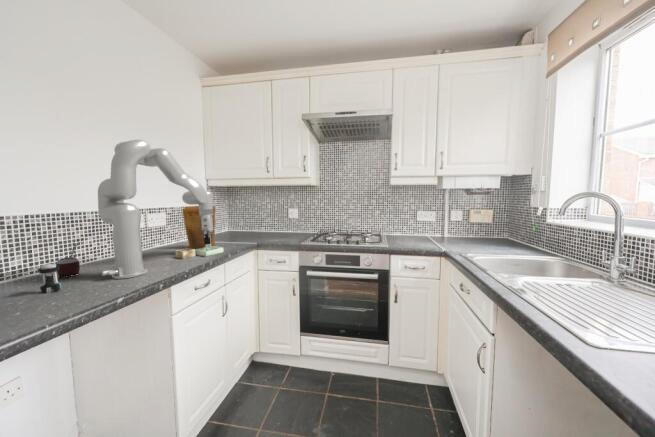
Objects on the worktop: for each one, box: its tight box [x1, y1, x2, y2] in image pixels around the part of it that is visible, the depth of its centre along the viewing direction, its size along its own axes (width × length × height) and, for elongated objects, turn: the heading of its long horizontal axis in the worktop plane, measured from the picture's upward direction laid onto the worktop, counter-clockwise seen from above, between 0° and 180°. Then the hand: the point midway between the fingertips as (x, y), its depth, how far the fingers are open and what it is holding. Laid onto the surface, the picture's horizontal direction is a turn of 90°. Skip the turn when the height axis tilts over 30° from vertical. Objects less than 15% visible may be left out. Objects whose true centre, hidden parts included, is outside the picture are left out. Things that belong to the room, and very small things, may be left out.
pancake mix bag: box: [182, 205, 217, 249], centre depth 166 cm, size 7×19×28 cm, turn 109°
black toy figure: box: [35, 263, 62, 294], centre depth 93 cm, size 7×5×10 cm
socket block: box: [175, 247, 196, 260], centre depth 143 cm, size 7×7×4 cm
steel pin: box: [205, 235, 211, 251], centre depth 150 cm, size 3×3×9 cm
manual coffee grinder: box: [56, 242, 81, 279], centre depth 111 cm, size 8×8×15 cm
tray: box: [195, 246, 225, 258], centre depth 151 cm, size 12×12×3 cm
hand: (208, 243), depth 150 cm, fingers closed on steel pin, 3 cm apart
